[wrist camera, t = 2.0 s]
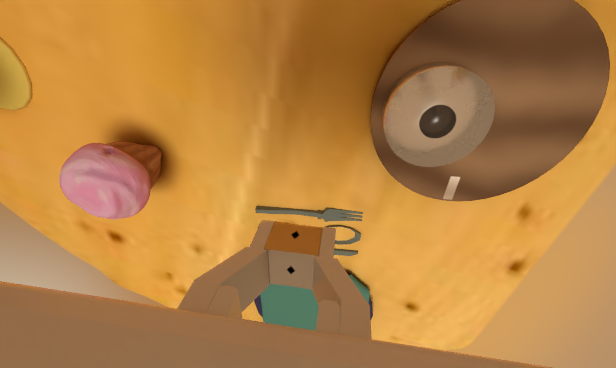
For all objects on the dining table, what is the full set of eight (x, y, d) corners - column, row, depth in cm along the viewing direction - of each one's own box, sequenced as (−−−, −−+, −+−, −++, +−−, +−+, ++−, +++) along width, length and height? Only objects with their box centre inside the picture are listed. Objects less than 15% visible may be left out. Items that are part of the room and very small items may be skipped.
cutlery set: (262, 326, 54) (258, 337, 52) (244, 197, 38) (238, 207, 36) (365, 339, 51) (366, 351, 49) (390, 208, 36) (392, 219, 34)
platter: (390, -16, 23) (391, -17, 22) (660, -9, 21) (672, -10, 20) (358, 187, 33) (359, 191, 33) (536, 205, 31) (540, 210, 30)
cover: (391, 59, 25) (395, 64, 22) (496, 64, 24) (514, 70, 21) (374, 149, 30) (377, 163, 27) (462, 157, 29) (473, 172, 26)
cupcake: (176, 193, 39) (127, 242, 30) (116, 173, 38) (49, 217, 30) (179, 138, 34) (121, 178, 26) (110, 114, 34) (29, 147, 25)
